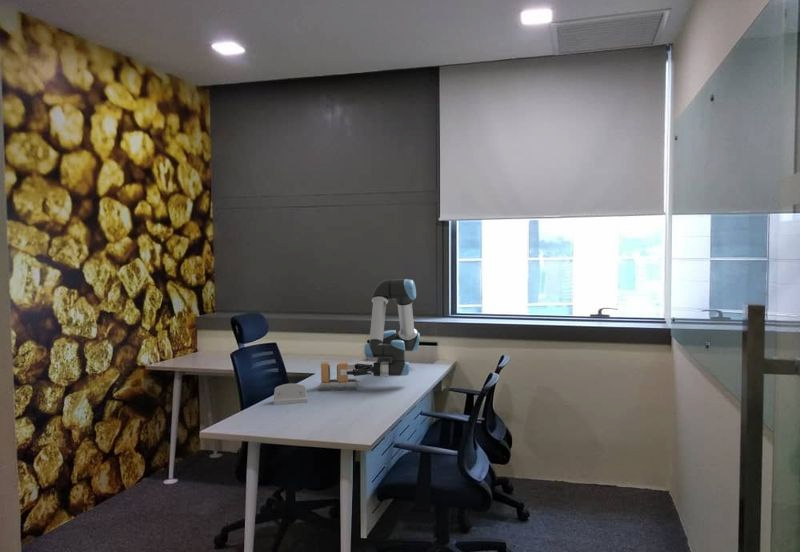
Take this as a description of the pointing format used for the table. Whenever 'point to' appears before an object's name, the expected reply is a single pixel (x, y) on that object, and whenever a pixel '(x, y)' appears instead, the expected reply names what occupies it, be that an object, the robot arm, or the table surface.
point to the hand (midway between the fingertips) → (341, 369)
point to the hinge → (290, 394)
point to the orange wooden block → (340, 367)
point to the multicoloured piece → (334, 381)
